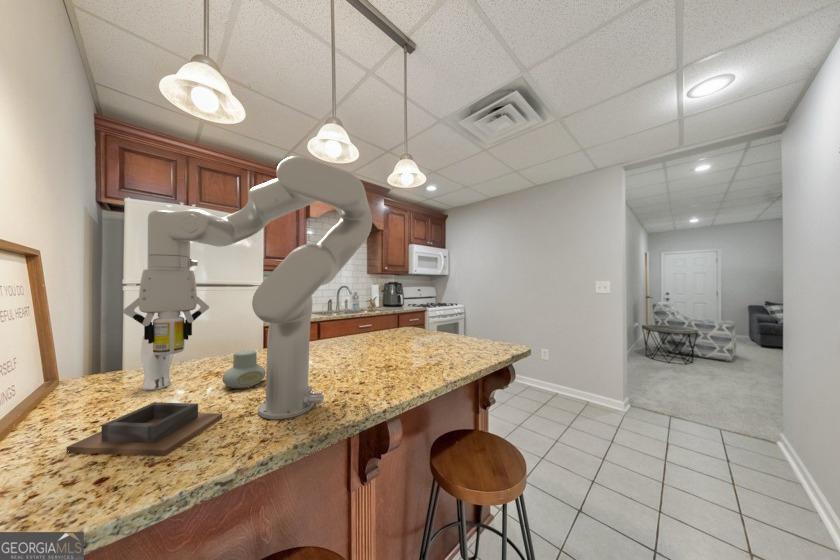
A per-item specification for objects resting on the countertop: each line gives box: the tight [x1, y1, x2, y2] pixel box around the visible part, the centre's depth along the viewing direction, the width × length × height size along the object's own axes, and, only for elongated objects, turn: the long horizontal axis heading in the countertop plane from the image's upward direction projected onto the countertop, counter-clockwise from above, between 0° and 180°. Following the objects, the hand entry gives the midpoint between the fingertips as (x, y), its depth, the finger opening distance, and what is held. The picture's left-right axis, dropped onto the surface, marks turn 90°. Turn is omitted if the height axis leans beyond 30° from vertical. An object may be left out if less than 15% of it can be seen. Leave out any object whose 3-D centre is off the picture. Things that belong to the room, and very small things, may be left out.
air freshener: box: [222, 349, 266, 390], centre depth 84 cm, size 11×8×10 cm
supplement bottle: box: [152, 311, 185, 355], centre depth 66 cm, size 6×6×10 cm
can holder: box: [66, 401, 223, 457], centre depth 57 cm, size 18×14×4 cm
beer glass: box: [140, 335, 174, 392], centre depth 82 cm, size 7×7×15 cm
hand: (169, 339), depth 66 cm, fingers closed on supplement bottle, 5 cm apart
